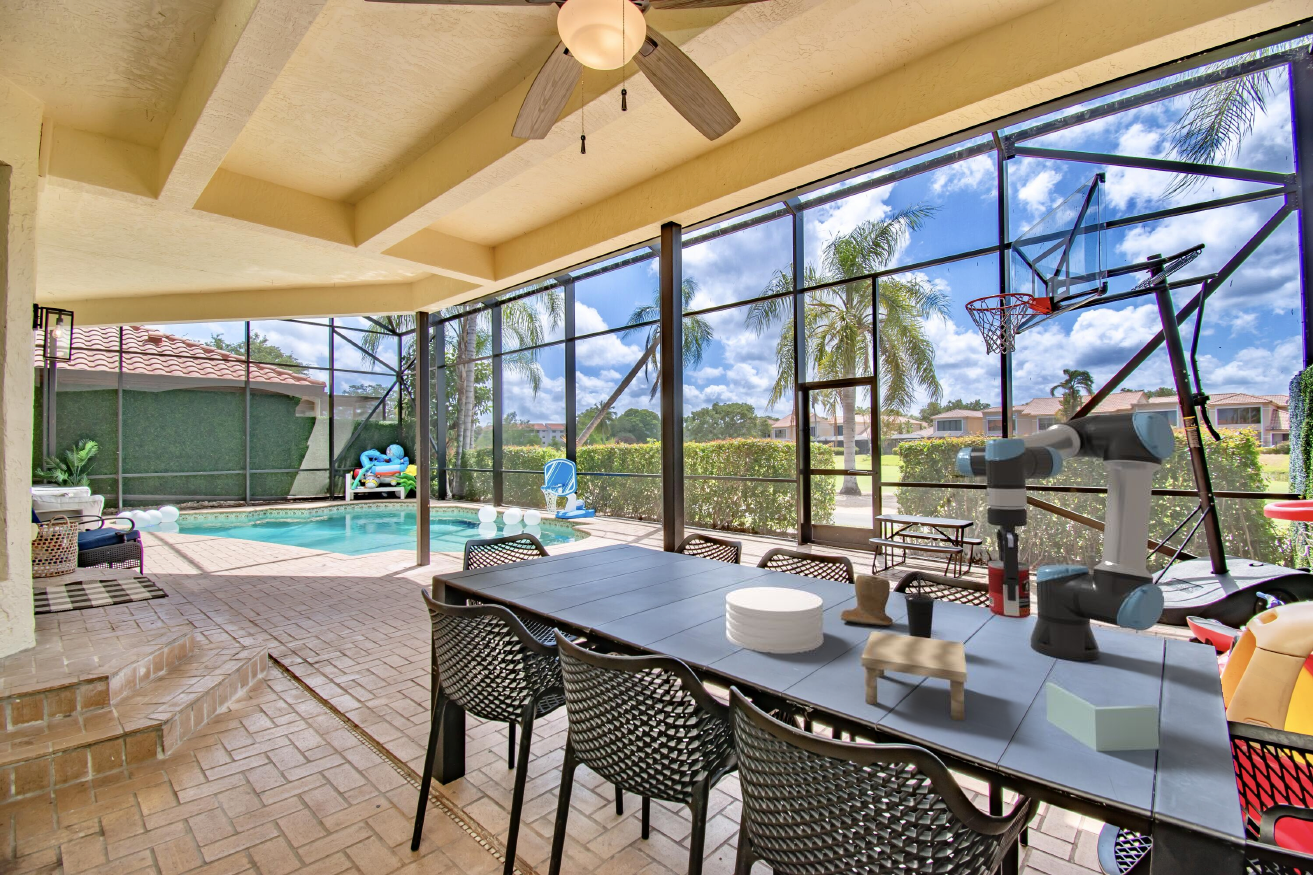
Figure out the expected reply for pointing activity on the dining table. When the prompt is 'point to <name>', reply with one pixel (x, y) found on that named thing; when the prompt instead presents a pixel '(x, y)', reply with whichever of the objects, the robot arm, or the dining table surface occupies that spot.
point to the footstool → (915, 663)
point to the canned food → (998, 592)
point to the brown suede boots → (869, 601)
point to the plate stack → (774, 619)
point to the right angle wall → (1103, 722)
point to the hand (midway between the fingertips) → (1009, 609)
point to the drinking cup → (919, 613)
